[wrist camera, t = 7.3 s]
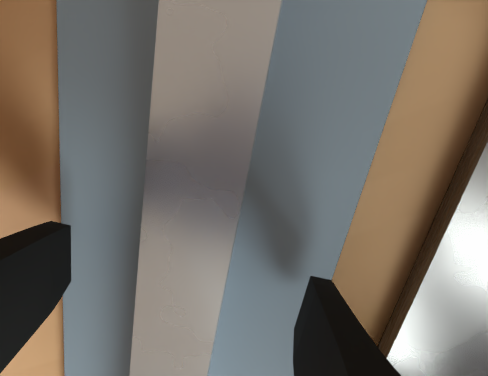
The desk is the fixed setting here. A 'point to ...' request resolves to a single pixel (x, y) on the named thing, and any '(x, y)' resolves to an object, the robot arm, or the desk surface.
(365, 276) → the desk surface
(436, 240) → the hook rack
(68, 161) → the mat
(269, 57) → the rail
